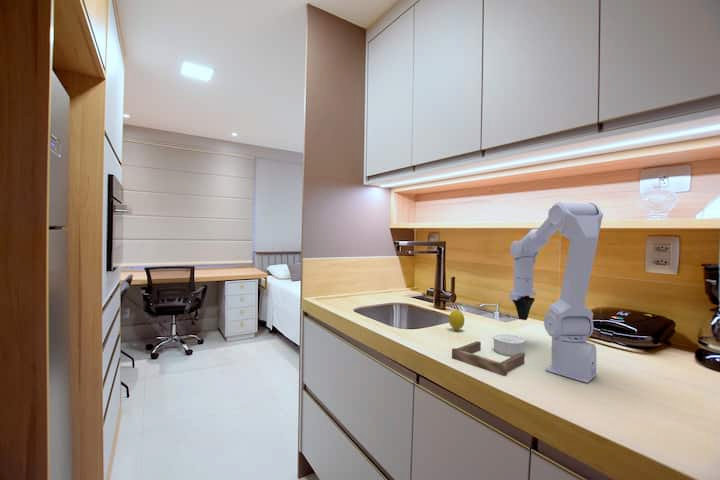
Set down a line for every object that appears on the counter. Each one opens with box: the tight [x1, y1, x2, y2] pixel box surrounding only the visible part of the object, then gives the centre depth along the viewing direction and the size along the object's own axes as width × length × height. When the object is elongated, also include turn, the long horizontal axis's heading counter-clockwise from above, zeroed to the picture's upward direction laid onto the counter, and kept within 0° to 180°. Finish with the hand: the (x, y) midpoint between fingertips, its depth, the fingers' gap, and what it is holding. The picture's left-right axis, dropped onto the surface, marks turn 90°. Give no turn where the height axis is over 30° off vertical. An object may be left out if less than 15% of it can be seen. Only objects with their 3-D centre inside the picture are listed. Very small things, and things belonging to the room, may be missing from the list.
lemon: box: [448, 309, 465, 331], centre depth 121 cm, size 6×6×8 cm
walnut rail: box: [451, 340, 525, 377], centre depth 91 cm, size 16×13×2 cm
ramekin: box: [492, 333, 525, 357], centre depth 98 cm, size 9×9×4 cm
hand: (523, 319), depth 105 cm, fingers closed
